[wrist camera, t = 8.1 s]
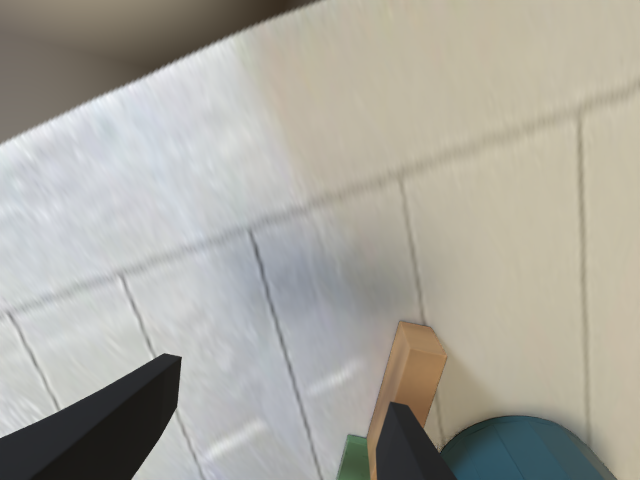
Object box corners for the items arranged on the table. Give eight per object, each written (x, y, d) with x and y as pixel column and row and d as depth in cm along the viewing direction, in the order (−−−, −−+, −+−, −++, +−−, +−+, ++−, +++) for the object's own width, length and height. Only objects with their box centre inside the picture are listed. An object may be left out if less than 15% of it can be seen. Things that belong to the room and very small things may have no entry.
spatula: (393, 506, 24) (401, 556, 21) (332, 493, 24) (331, 541, 21) (452, 331, 20) (472, 361, 17) (378, 316, 20) (385, 343, 17)
